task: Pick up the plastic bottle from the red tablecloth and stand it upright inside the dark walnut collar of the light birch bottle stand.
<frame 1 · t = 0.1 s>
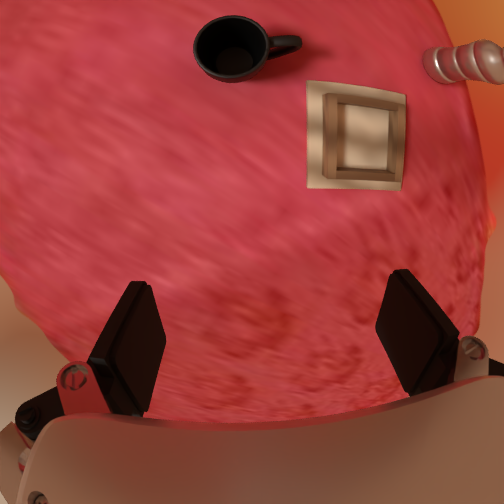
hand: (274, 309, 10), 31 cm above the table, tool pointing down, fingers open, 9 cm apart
mug: (248, 61, 31), on the table
bottle stand: (358, 136, 36), on the table
plastic bottle: (431, 66, 29), on the table
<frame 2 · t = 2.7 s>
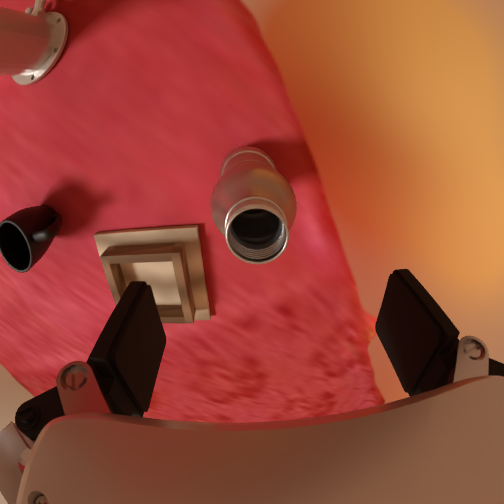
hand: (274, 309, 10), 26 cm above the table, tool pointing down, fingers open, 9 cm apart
mug: (55, 218, 34), on the table
bottle stand: (153, 276, 40), on the table
plastic bottle: (248, 169, 33), on the table
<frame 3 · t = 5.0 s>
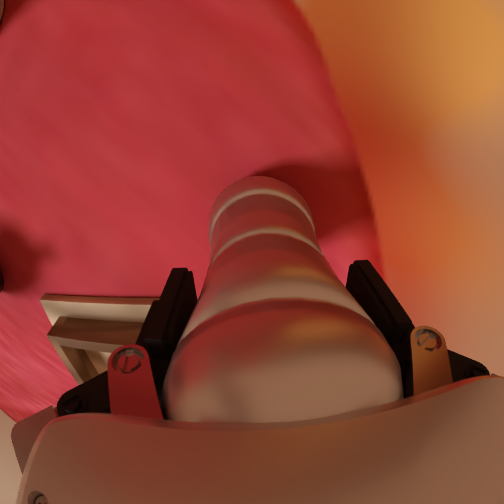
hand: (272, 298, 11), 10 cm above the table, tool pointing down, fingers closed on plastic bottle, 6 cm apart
bottle stand: (125, 354, 26), on the table
plastic bottle: (259, 214, 19), on the table, touching gripper
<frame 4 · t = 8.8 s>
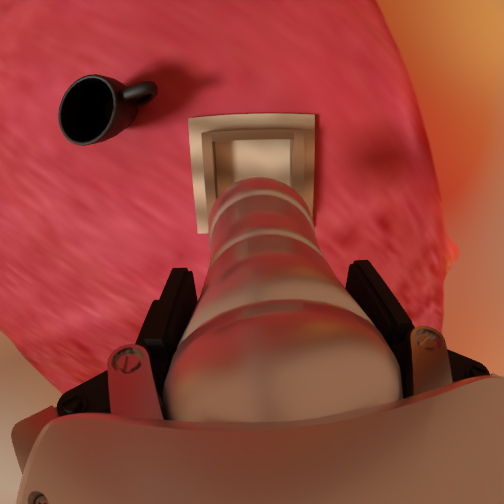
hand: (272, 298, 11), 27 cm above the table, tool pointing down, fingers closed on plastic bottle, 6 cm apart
mug: (133, 106, 30), on the table
bottle stand: (253, 173, 35), on the table
plastic bottle: (259, 214, 19), point 18 cm above the table, touching gripper
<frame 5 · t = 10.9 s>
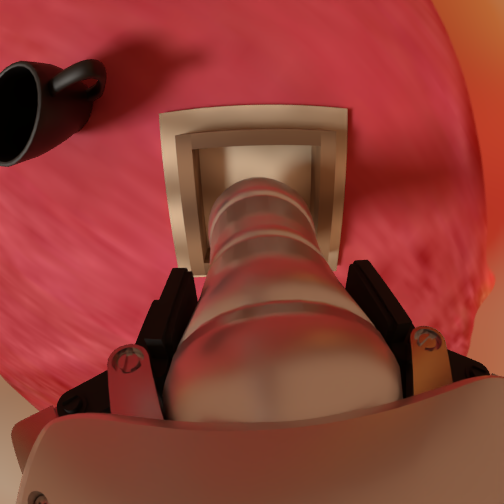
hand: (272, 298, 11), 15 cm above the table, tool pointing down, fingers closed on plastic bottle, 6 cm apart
mug: (86, 101, 19), on the table
bottle stand: (256, 193, 24), on the table
plastic bottle: (259, 215, 19), point 6 cm above the table, touching gripper
when the fingers open (12 cm above the table, at t = 12.6 s): plastic bottle drops 1 cm, resting on bottle stand.
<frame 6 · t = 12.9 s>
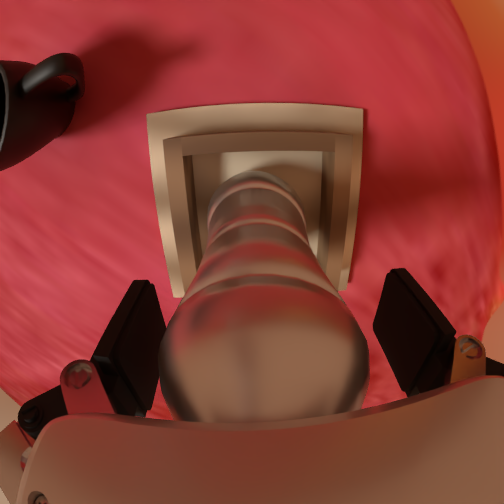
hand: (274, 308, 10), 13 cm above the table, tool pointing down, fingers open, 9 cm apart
mug: (69, 102, 16), on the table
bottle stand: (258, 205, 21), on the table
plastic bottle: (256, 206, 21), point 1 cm above the table, touching bottle stand
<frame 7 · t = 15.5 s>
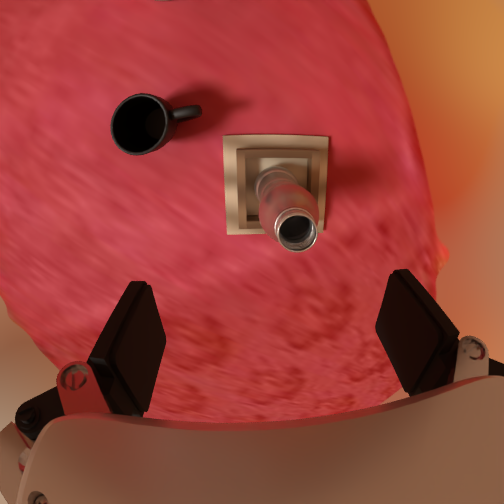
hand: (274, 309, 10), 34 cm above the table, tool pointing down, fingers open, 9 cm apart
mug: (172, 121, 37), on the table
bottle stand: (275, 184, 42), on the table
plastic bottle: (274, 184, 41), point 1 cm above the table, touching bottle stand
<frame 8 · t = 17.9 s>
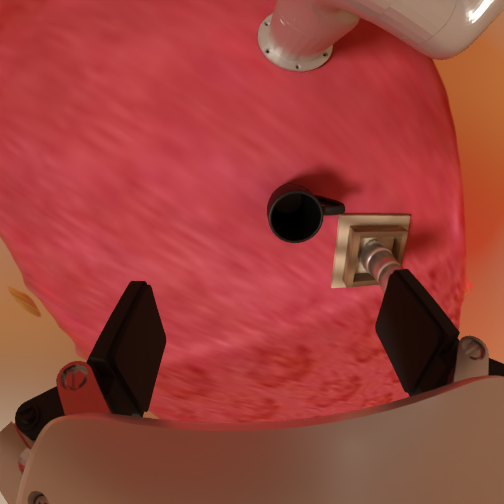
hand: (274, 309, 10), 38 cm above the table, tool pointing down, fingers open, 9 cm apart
mug: (297, 198, 48), on the table
bottle stand: (370, 250, 53), on the table
plastic bottle: (371, 251, 52), point 1 cm above the table, touching bottle stand
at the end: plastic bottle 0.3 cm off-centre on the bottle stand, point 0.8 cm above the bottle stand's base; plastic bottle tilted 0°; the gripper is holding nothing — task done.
